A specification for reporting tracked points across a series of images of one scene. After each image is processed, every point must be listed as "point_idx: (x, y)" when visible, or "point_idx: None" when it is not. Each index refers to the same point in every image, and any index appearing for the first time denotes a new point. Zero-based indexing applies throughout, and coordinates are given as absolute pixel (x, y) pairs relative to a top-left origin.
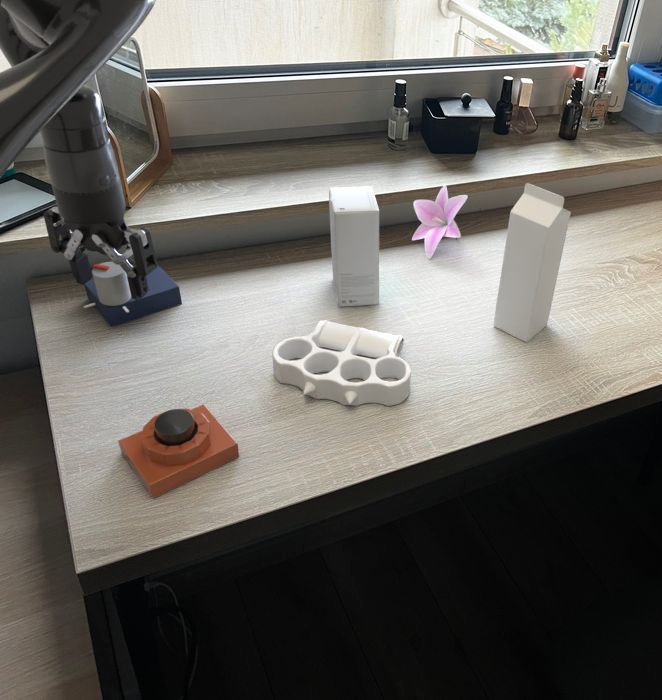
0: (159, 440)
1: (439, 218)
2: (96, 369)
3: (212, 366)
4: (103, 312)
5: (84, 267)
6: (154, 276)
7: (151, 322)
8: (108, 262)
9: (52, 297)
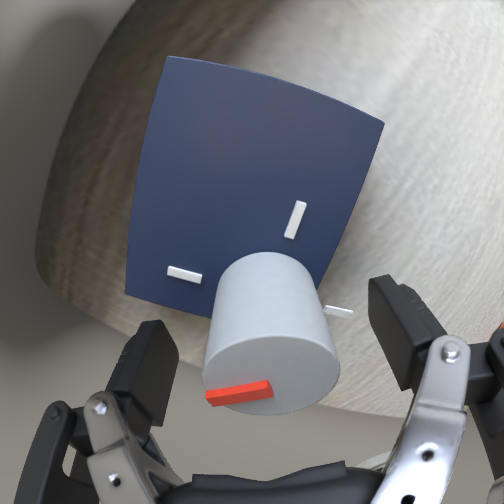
0: None
1: None
2: (353, 367)
3: (495, 258)
4: None
5: (155, 373)
6: (262, 123)
7: (349, 231)
8: (219, 359)
9: (96, 296)
